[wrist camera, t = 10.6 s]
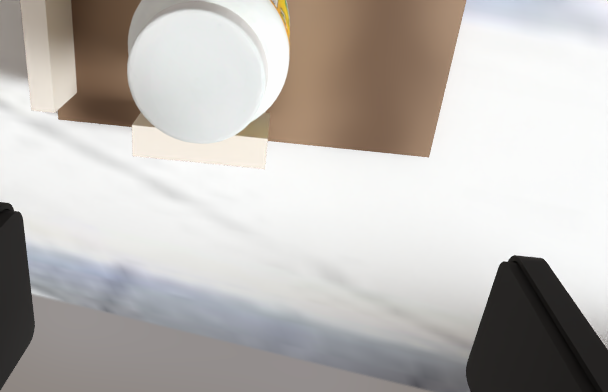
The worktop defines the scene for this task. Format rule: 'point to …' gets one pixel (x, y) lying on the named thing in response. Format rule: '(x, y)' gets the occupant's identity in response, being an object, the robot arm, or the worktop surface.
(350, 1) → the board
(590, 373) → the robot arm
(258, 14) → the supplement bottle
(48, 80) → the holder
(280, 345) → the worktop surface
